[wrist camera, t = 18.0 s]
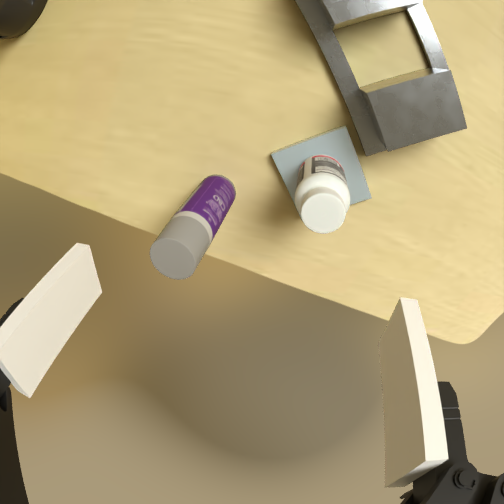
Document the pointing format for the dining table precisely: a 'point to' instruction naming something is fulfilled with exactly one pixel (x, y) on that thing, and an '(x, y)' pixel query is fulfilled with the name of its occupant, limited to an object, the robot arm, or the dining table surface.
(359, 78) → the dining table surface
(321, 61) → the dining table surface
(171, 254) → the container
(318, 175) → the pill bottle
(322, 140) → the pad
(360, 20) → the housing
